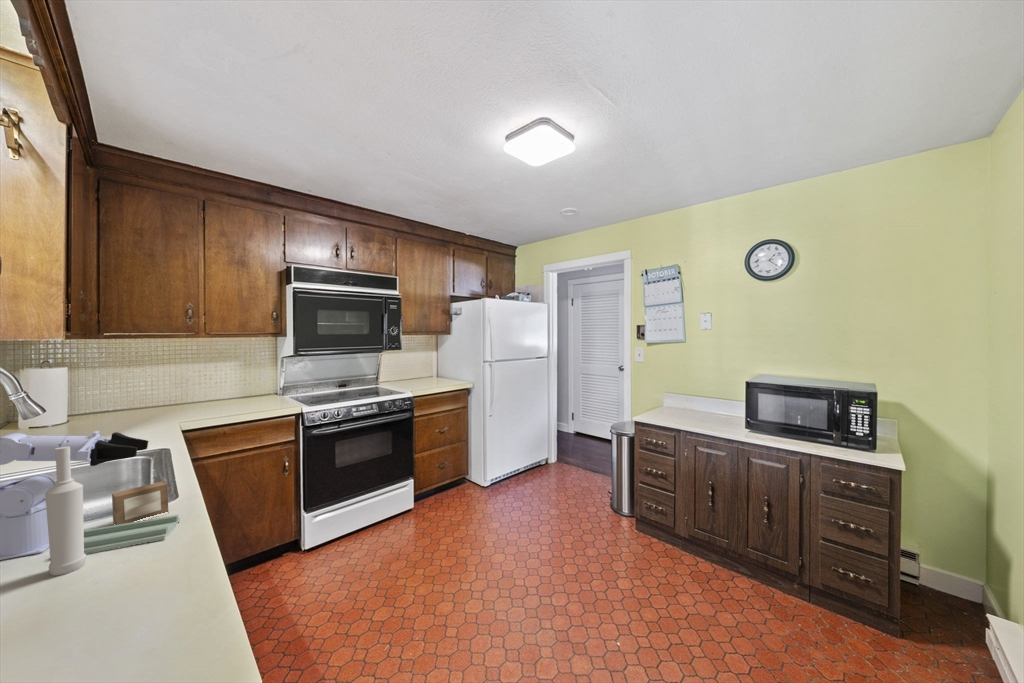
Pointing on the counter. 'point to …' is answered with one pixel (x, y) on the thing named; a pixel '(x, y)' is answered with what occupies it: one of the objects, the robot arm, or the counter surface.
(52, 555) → the bottle
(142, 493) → the picture frame
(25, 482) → the robot arm
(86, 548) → the picture ledge
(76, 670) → the counter surface
